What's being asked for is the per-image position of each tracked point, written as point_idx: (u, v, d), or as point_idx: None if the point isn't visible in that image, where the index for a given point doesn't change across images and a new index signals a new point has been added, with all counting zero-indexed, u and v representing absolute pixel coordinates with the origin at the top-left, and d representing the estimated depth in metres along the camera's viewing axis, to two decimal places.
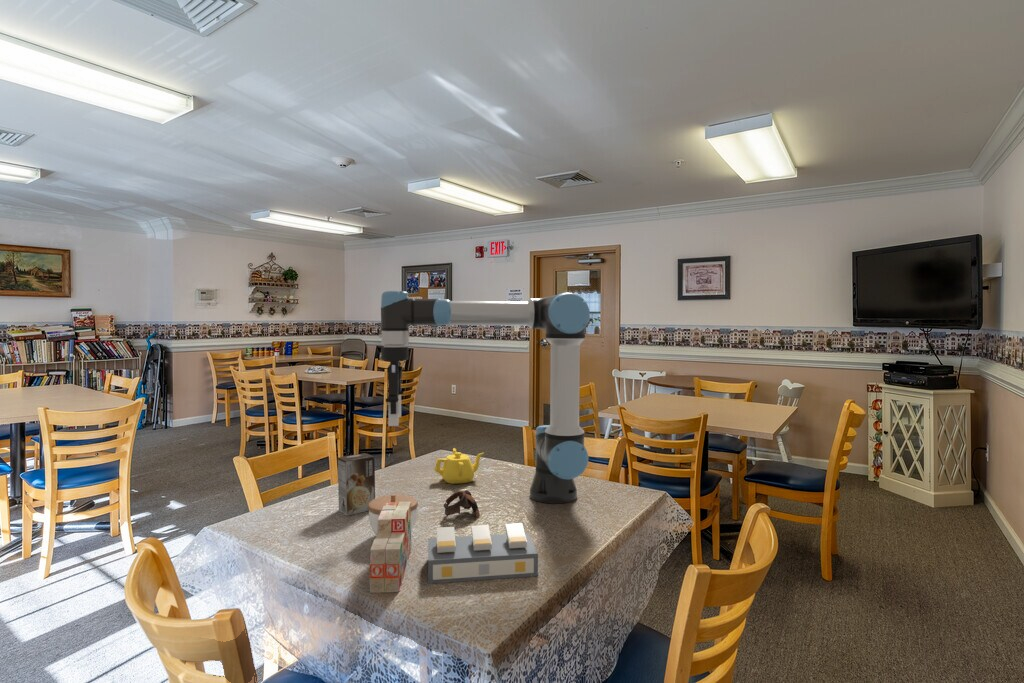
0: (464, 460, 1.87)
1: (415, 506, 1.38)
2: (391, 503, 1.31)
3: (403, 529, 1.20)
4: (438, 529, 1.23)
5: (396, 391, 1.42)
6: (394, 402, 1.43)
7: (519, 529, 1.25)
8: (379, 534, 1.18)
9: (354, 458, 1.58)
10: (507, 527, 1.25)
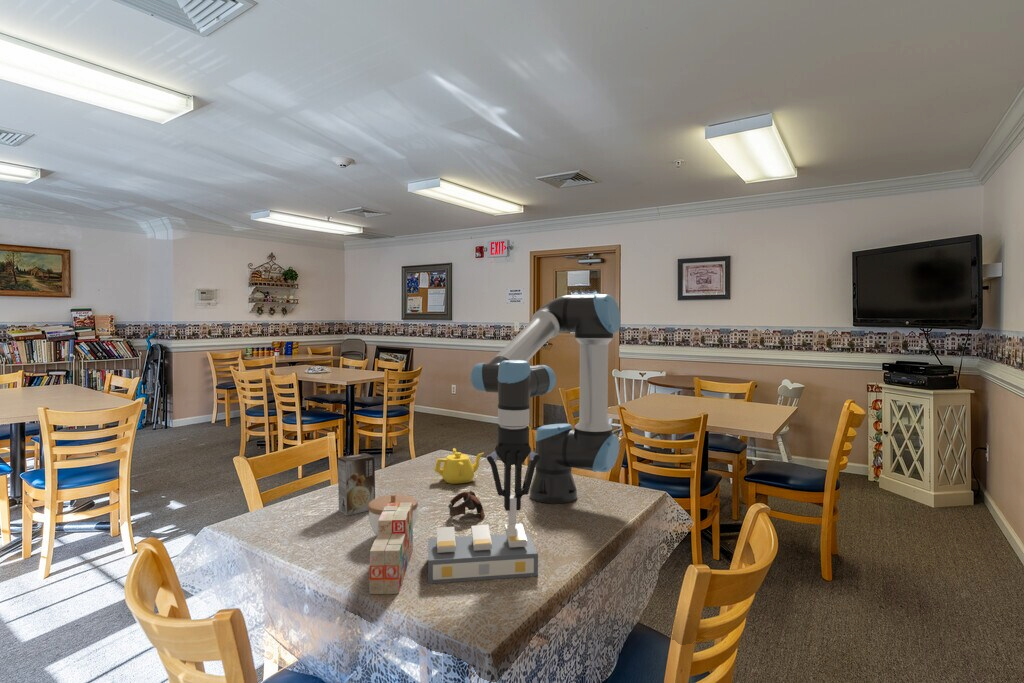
0: (464, 460, 1.87)
1: (415, 506, 1.38)
2: (392, 504, 1.30)
3: (404, 531, 1.19)
4: (438, 529, 1.23)
5: (496, 486, 1.26)
6: (504, 497, 1.27)
7: (519, 529, 1.25)
8: (380, 535, 1.18)
9: (354, 458, 1.58)
10: (507, 527, 1.25)
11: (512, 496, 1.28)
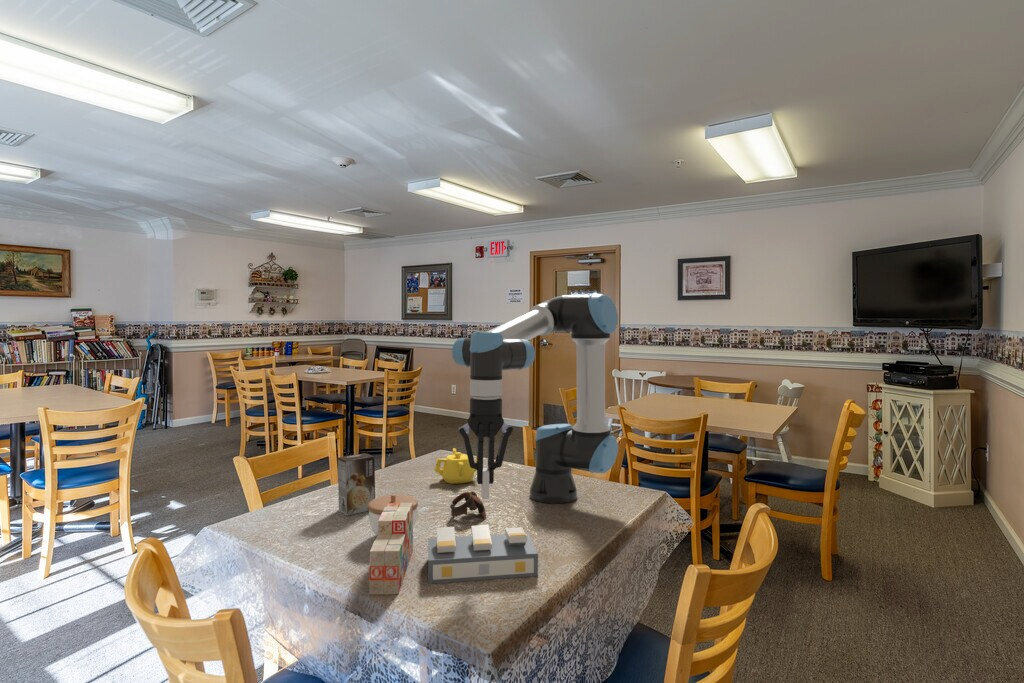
0: (464, 460, 1.87)
1: (415, 506, 1.38)
2: (393, 504, 1.30)
3: (404, 531, 1.19)
4: (438, 529, 1.23)
5: (468, 459, 1.24)
6: None
7: (518, 530, 1.25)
8: (380, 536, 1.18)
9: (354, 458, 1.58)
10: (507, 529, 1.26)
11: (485, 469, 1.26)
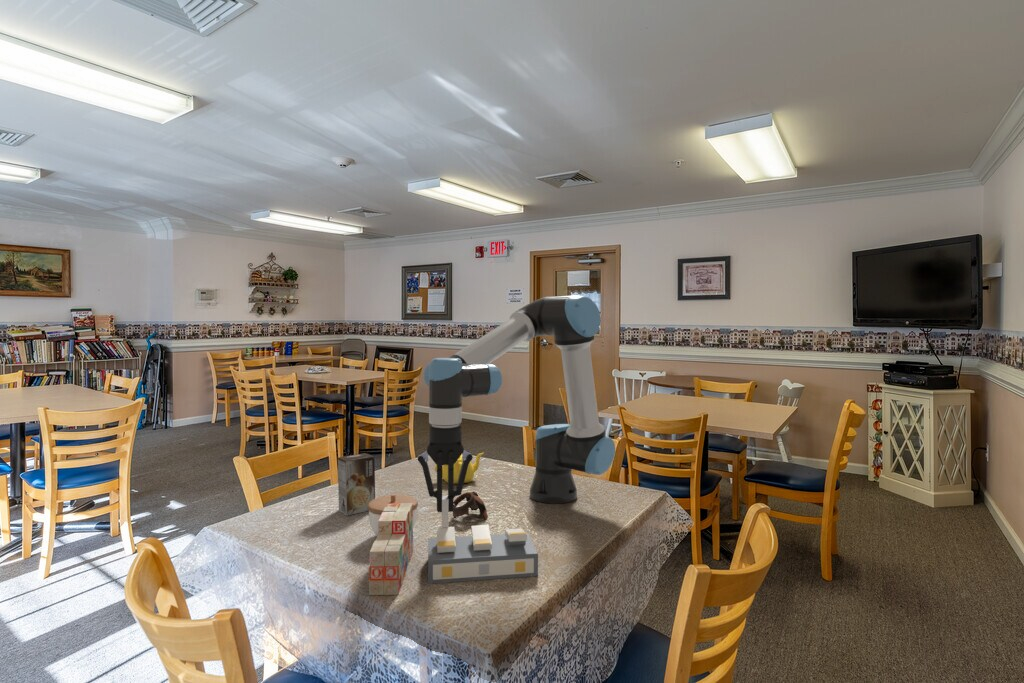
0: None
1: (415, 506, 1.38)
2: (393, 504, 1.30)
3: (404, 531, 1.19)
4: (438, 529, 1.23)
5: (427, 487, 1.23)
6: (436, 498, 1.24)
7: (518, 530, 1.25)
8: (379, 536, 1.17)
9: (354, 458, 1.58)
10: (507, 530, 1.26)
11: (445, 497, 1.25)
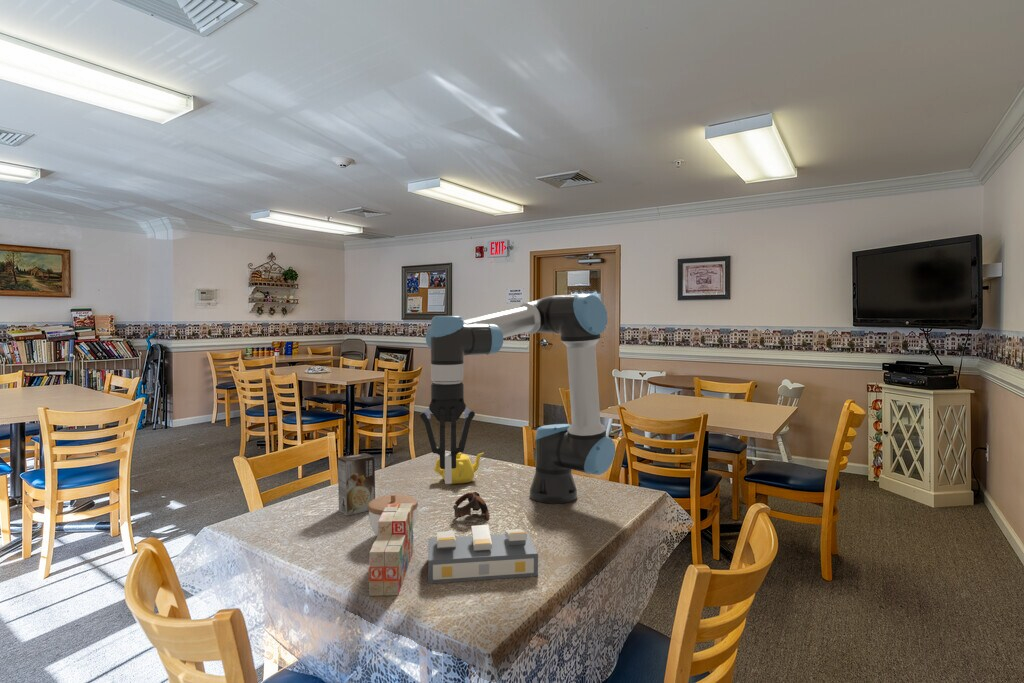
0: (464, 460, 1.87)
1: (415, 506, 1.38)
2: (393, 505, 1.29)
3: (404, 532, 1.19)
4: (438, 532, 1.24)
5: (430, 444, 1.24)
6: (439, 455, 1.25)
7: (518, 530, 1.25)
8: (379, 536, 1.17)
9: (354, 458, 1.58)
10: (507, 530, 1.26)
11: (447, 454, 1.26)
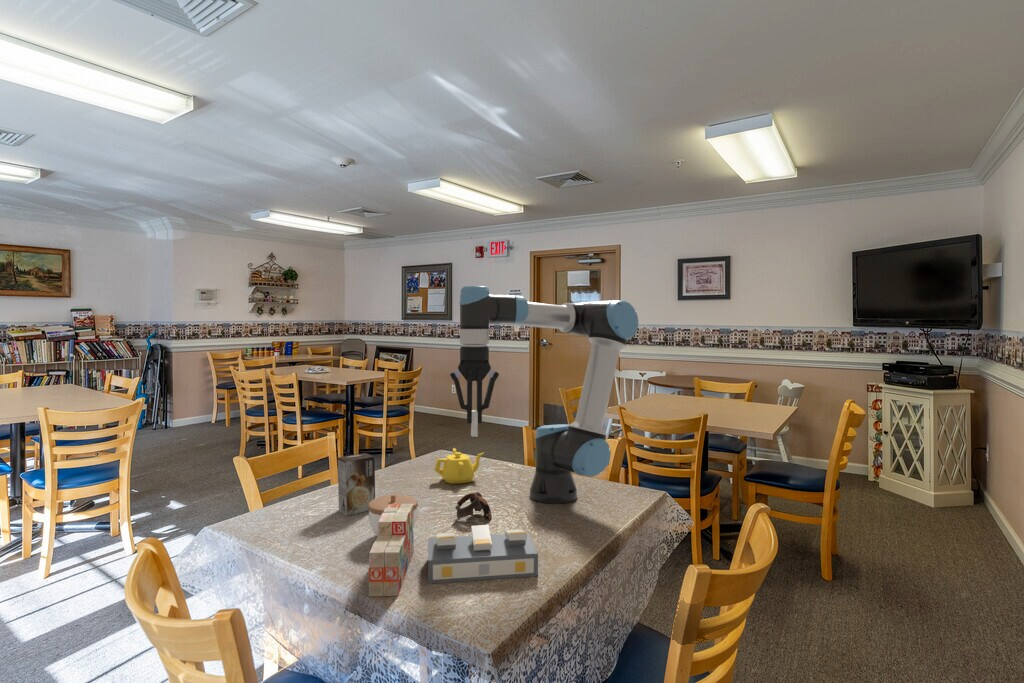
0: (464, 460, 1.87)
1: (415, 506, 1.38)
2: (393, 505, 1.29)
3: (404, 532, 1.18)
4: (438, 534, 1.24)
5: (459, 401, 1.39)
6: None
7: (518, 530, 1.25)
8: (379, 537, 1.17)
9: (354, 458, 1.58)
10: (507, 531, 1.26)
11: (474, 410, 1.40)
